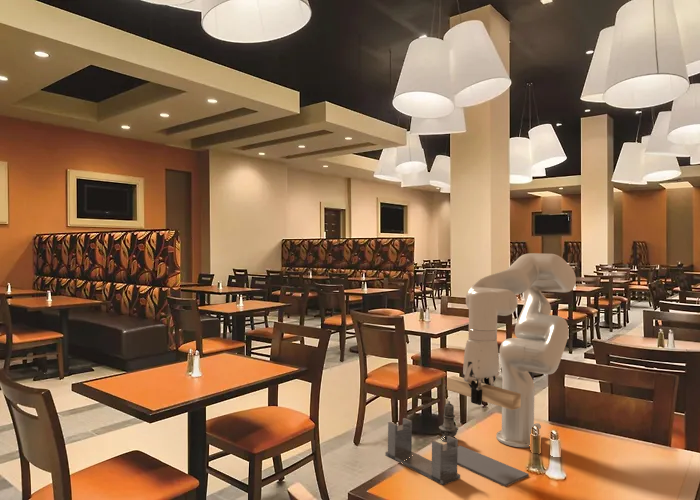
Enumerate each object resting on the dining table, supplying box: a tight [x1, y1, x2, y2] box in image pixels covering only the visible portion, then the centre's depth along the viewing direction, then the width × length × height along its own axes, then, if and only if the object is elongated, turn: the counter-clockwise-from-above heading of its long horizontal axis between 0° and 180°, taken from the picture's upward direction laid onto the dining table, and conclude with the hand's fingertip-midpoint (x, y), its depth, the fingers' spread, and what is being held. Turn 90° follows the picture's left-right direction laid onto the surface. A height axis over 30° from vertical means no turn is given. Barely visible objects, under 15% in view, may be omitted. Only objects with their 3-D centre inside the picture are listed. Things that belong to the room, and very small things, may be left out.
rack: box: [384, 417, 461, 486], centre depth 136 cm, size 6×22×10 cm, turn 37°
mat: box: [457, 445, 530, 487], centre depth 138 cm, size 10×23×1 cm, turn 37°
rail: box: [446, 375, 521, 410], centre depth 137 cm, size 4×22×4 cm, turn 37°
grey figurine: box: [438, 400, 459, 443], centre depth 156 cm, size 6×6×12 cm
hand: (481, 401), depth 138 cm, fingers closed on rail, 3 cm apart
